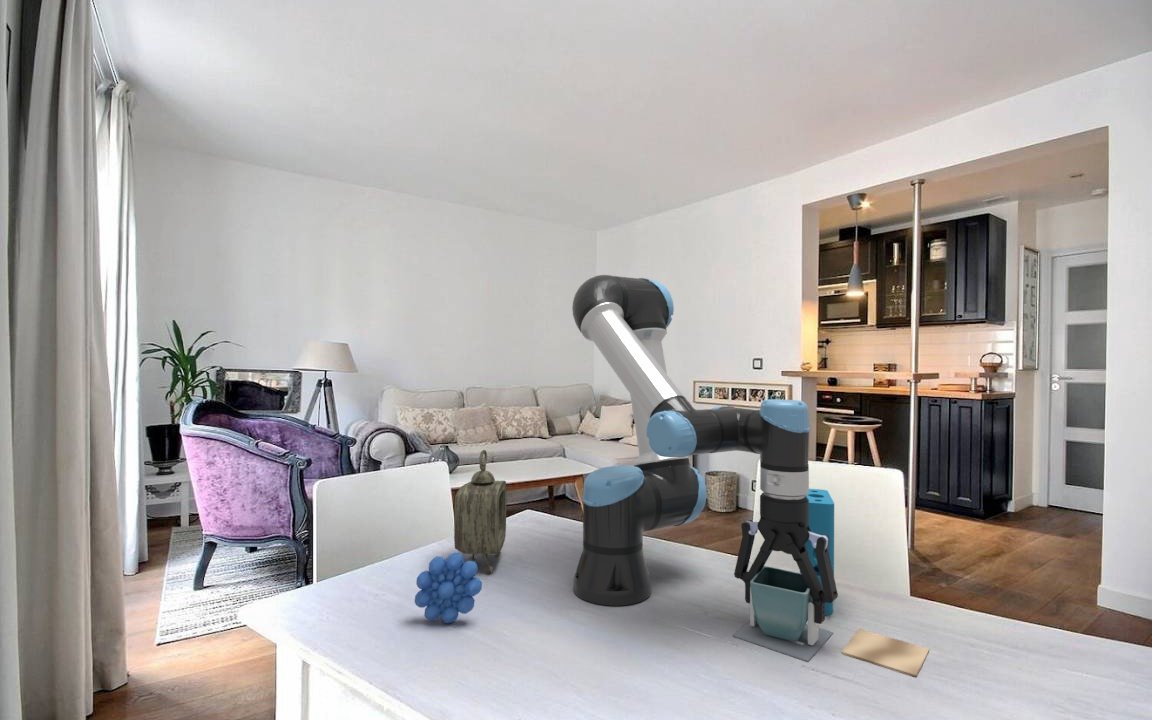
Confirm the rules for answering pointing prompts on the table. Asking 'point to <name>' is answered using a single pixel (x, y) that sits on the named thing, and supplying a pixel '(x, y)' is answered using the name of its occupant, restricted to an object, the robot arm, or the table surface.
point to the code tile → (784, 641)
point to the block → (821, 529)
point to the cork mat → (886, 652)
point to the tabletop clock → (480, 515)
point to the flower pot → (780, 602)
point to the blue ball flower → (448, 588)
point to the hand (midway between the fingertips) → (783, 632)
